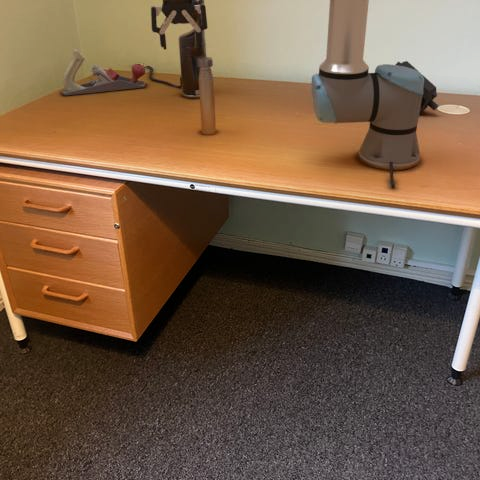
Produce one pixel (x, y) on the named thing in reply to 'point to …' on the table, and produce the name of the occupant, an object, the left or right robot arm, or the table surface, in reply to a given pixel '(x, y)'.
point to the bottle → (207, 101)
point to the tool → (424, 90)
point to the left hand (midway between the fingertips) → (181, 47)
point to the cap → (205, 62)
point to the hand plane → (105, 80)
